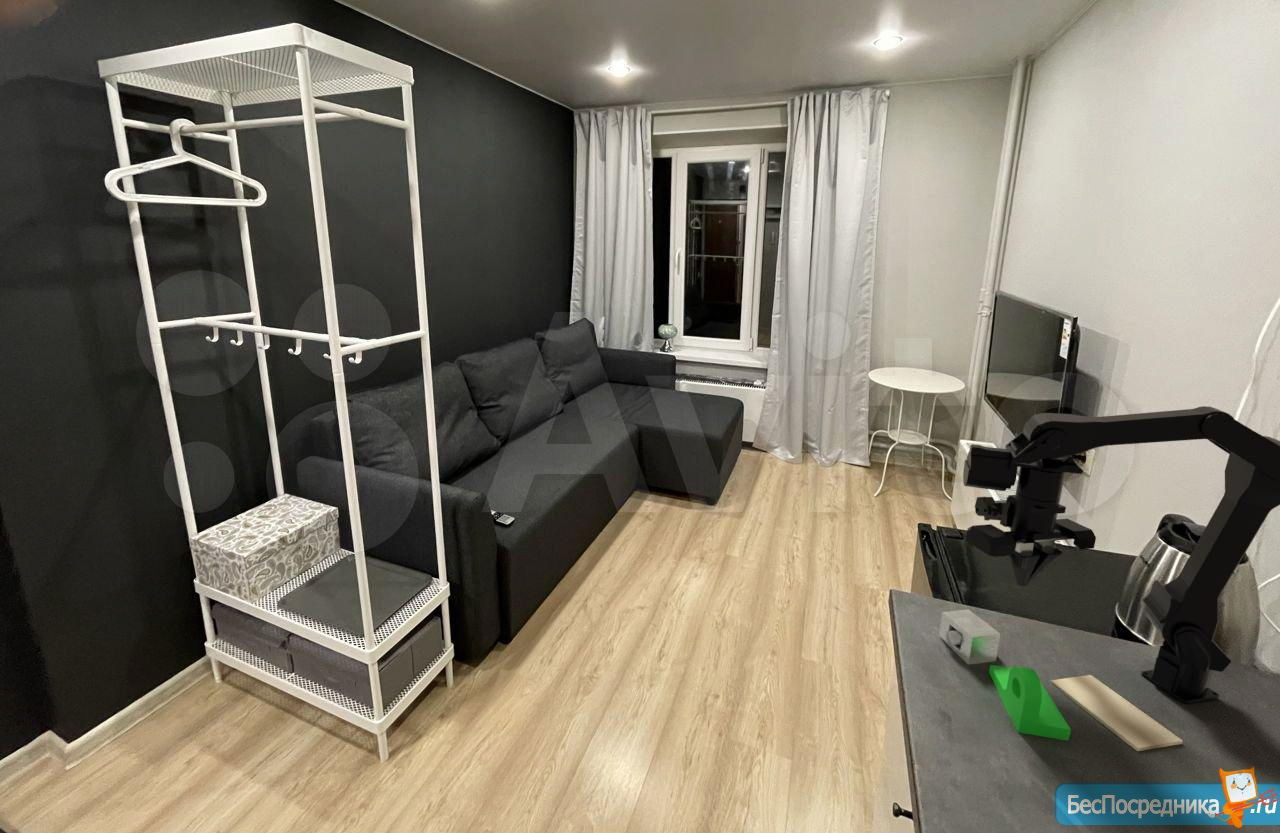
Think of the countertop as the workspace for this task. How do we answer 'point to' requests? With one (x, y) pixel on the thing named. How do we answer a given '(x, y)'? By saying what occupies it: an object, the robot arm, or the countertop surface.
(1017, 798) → the countertop surface
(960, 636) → the shaft
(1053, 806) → the countertop surface
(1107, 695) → the beige wooden board
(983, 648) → the bearing block
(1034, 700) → the mechanical part
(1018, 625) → the countertop surface
